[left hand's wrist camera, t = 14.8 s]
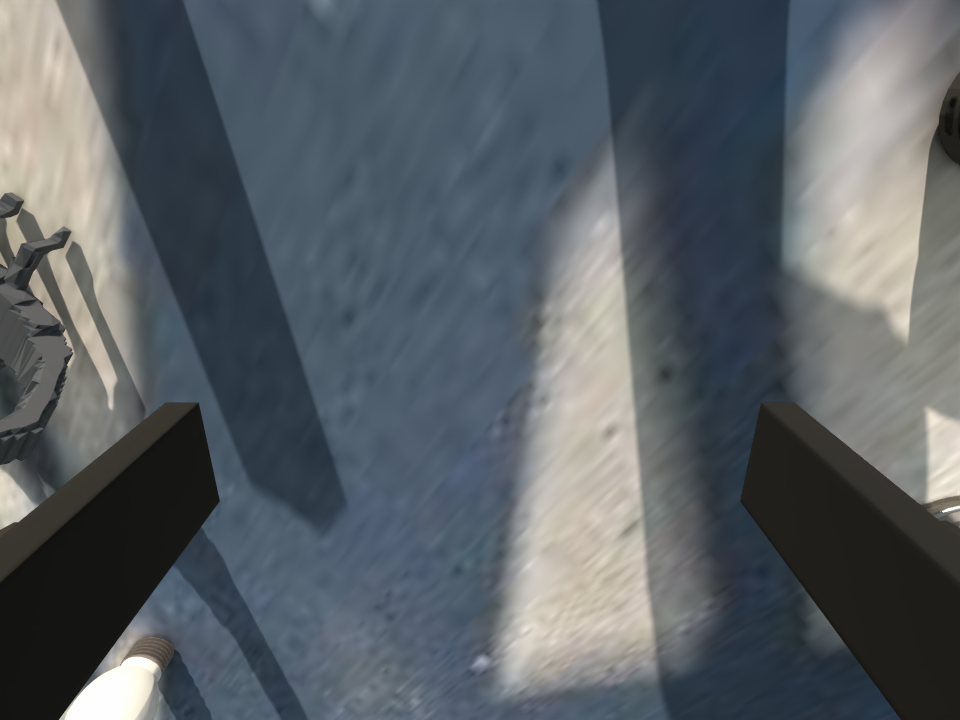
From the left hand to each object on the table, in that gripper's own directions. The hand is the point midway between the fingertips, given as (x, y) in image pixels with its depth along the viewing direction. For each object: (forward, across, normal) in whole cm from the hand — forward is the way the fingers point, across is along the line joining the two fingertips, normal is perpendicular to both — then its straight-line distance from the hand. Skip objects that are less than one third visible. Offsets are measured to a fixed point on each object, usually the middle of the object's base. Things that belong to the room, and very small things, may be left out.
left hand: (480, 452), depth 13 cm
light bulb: (+28, -33, -40) cm, 59 cm away
